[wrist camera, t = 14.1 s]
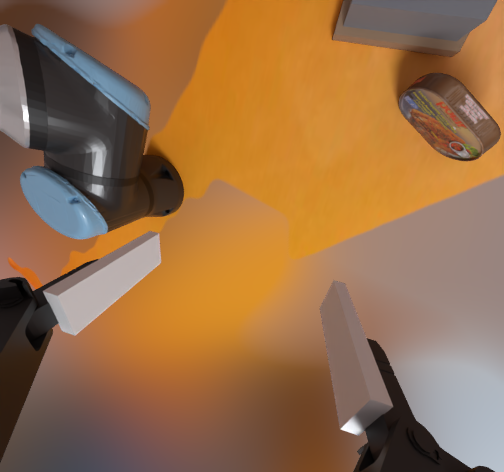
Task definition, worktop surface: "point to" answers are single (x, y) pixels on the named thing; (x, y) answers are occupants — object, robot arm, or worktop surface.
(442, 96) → the tin
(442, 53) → the block
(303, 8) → the worktop surface
